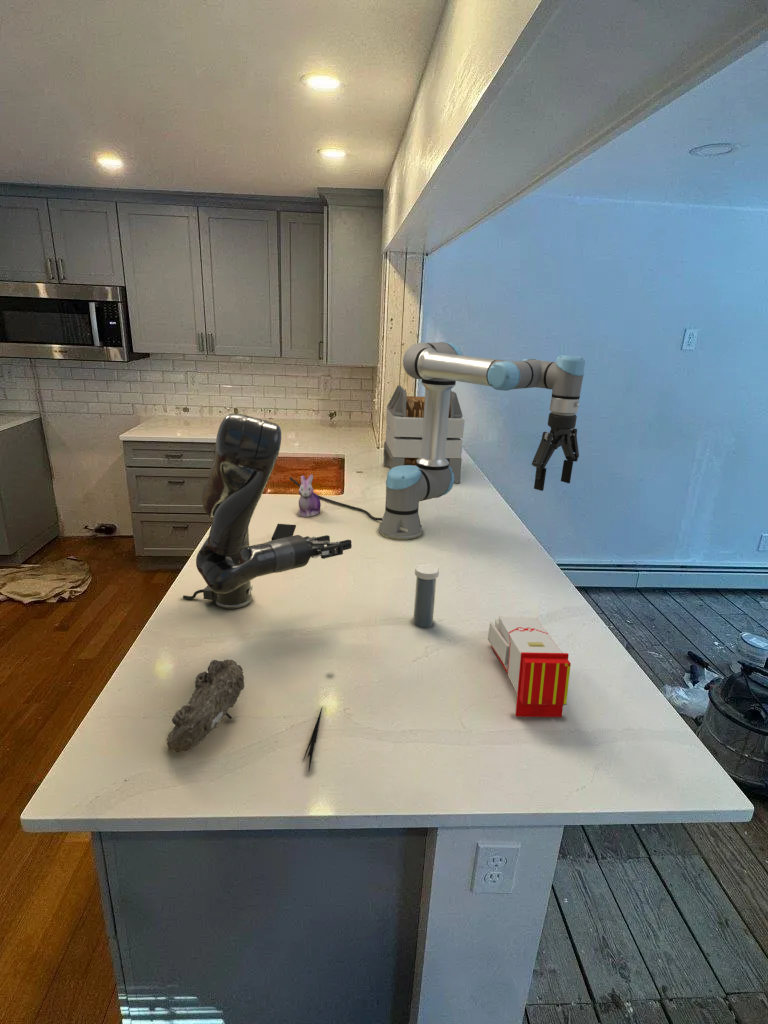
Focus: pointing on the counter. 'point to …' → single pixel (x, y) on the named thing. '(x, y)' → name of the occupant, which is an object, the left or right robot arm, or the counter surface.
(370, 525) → the counter surface
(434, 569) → the lid
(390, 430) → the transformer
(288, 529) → the figurine character
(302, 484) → the figurine
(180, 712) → the fossil
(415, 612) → the jar
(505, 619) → the toy
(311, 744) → the feather
